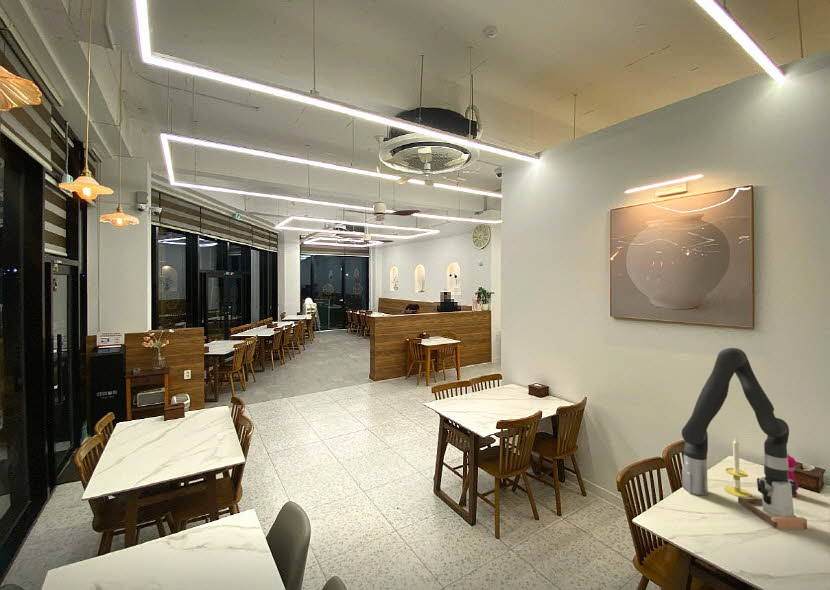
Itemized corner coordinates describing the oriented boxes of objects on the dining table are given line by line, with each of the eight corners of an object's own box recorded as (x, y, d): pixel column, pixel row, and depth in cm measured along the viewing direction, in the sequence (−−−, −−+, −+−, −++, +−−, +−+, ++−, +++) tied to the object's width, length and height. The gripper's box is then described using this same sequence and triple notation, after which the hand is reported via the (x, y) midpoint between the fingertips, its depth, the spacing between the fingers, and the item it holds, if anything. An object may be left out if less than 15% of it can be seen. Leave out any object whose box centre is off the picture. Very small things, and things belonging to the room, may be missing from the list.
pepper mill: (803, 498, 172) (801, 456, 172) (785, 496, 174) (783, 455, 174) (790, 490, 179) (789, 449, 179) (773, 489, 181) (772, 448, 181)
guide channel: (774, 528, 151) (774, 522, 151) (738, 502, 170) (738, 497, 170) (807, 529, 150) (806, 523, 150) (766, 503, 169) (766, 497, 169)
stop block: (774, 528, 151) (774, 518, 151) (771, 525, 152) (770, 516, 152) (807, 529, 150) (806, 519, 150) (803, 527, 151) (803, 517, 151)
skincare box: (794, 519, 153) (793, 483, 153) (783, 521, 152) (783, 485, 152) (771, 508, 161) (770, 474, 161) (760, 510, 160) (759, 476, 160)
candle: (748, 490, 180) (746, 435, 180) (753, 499, 172) (751, 442, 172) (722, 484, 185) (720, 432, 186) (725, 494, 177) (724, 438, 177)
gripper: (765, 469, 154) (766, 508, 153) (802, 469, 152) (803, 509, 152) (750, 461, 161) (751, 498, 161) (785, 461, 160) (786, 499, 160)
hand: (776, 503), depth 156 cm, fingers closed on skincare box, 7 cm apart
